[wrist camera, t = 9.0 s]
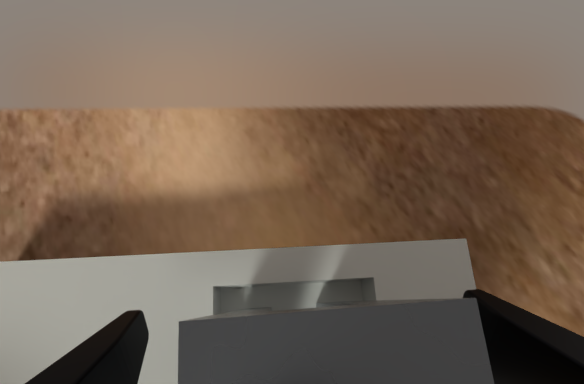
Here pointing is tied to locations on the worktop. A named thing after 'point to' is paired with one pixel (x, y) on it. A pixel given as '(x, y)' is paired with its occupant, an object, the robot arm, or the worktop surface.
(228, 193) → the worktop surface
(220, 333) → the clip
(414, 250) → the white slotted block
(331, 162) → the worktop surface
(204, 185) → the worktop surface
